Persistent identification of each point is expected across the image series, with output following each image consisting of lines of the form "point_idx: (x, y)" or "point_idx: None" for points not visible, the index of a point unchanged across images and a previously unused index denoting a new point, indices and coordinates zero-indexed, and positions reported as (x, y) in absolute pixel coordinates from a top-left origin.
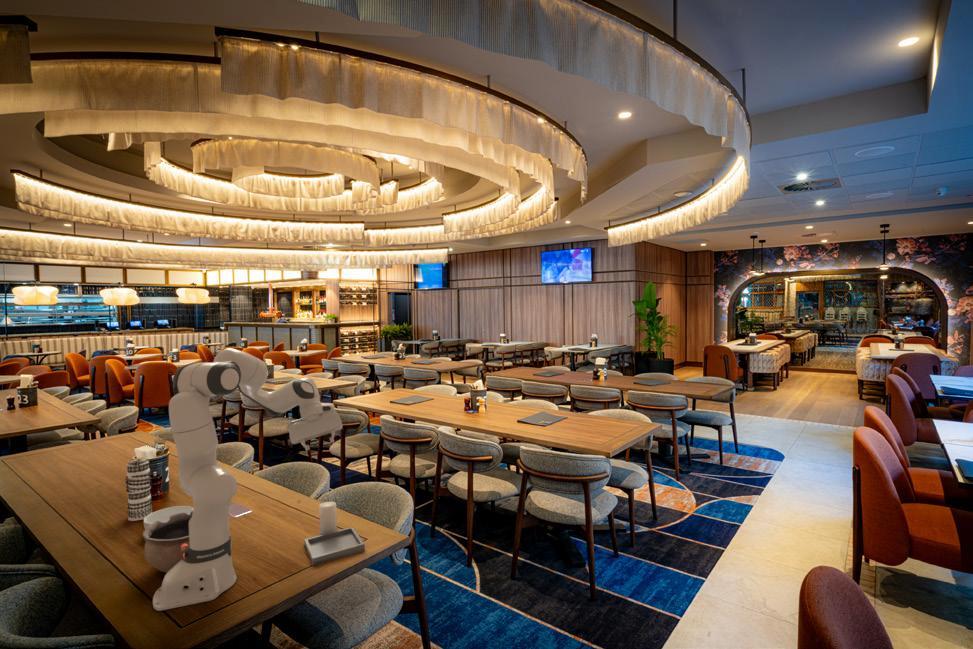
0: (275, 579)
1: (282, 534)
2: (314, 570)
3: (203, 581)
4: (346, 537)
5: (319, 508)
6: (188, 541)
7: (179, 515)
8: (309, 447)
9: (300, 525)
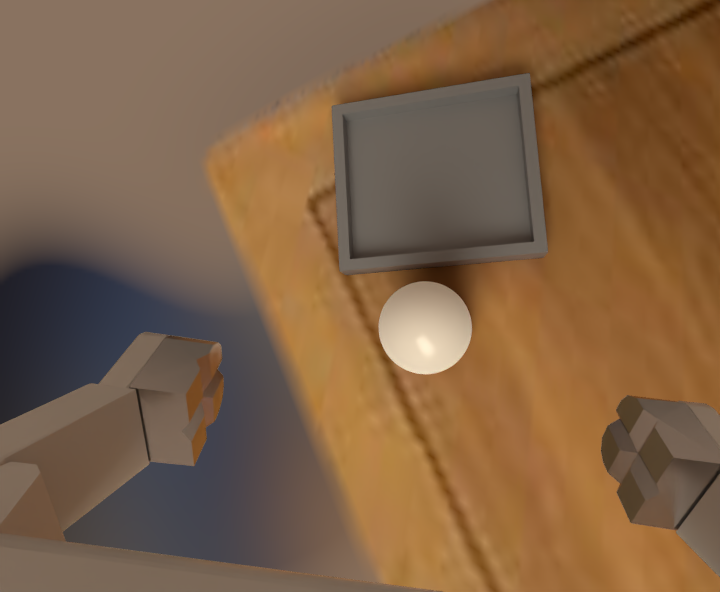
0: (667, 46)
1: None
2: (524, 54)
3: None
4: (378, 225)
5: (470, 320)
6: None
7: None
8: (619, 493)
9: (544, 475)
